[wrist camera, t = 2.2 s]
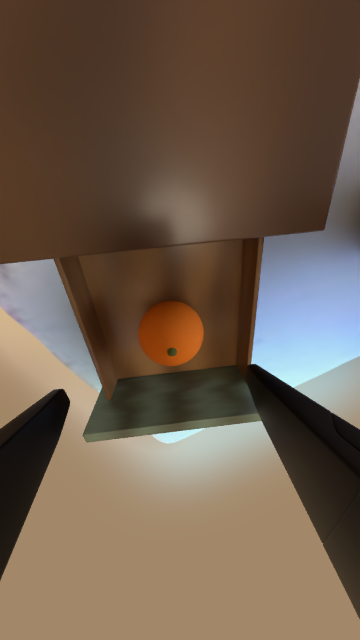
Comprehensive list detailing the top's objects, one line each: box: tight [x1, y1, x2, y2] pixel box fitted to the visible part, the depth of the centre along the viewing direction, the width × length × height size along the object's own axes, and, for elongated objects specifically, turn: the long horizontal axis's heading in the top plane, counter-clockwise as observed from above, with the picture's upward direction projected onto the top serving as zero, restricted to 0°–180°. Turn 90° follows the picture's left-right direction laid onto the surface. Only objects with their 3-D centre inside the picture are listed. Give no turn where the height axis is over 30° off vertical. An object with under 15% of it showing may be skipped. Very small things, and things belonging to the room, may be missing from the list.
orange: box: [138, 301, 204, 366], centre depth 17 cm, size 6×6×6 cm
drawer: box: [54, 237, 264, 442], centre depth 17 cm, size 18×18×8 cm
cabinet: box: [0, 0, 360, 264], centre depth 10 cm, size 19×17×9 cm
